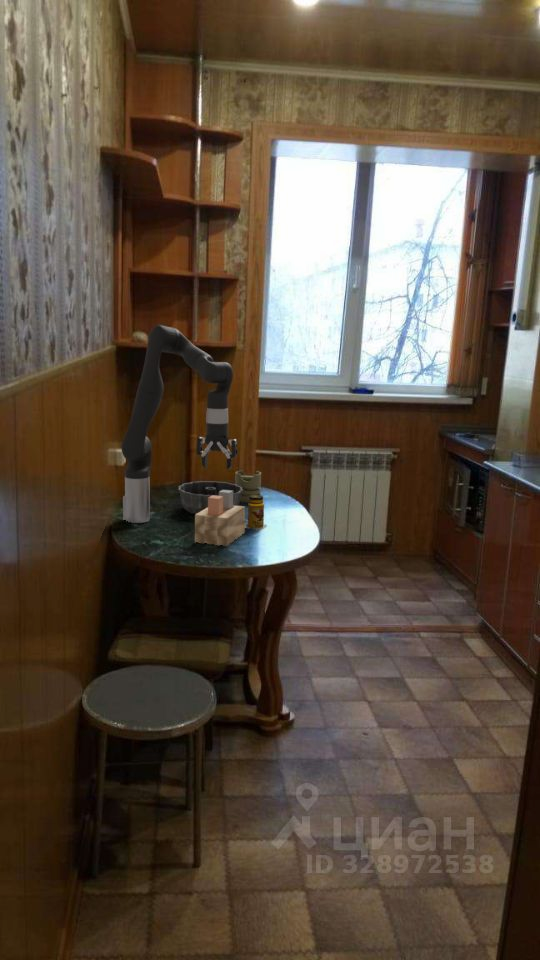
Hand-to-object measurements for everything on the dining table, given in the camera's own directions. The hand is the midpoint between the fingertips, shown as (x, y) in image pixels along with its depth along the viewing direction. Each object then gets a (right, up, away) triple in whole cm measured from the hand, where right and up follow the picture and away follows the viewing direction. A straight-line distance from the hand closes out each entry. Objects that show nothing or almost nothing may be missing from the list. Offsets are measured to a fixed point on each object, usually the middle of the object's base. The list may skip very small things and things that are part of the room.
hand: (216, 468), depth 245 cm
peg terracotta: (-1, -18, +3) cm, 18 cm away
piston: (+9, -13, +69) cm, 71 cm away
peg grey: (+2, -16, +13) cm, 21 cm away
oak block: (+1, -25, +10) cm, 27 cm away
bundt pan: (-6, -17, +47) cm, 50 cm away
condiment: (+12, -22, +26) cm, 36 cm away
